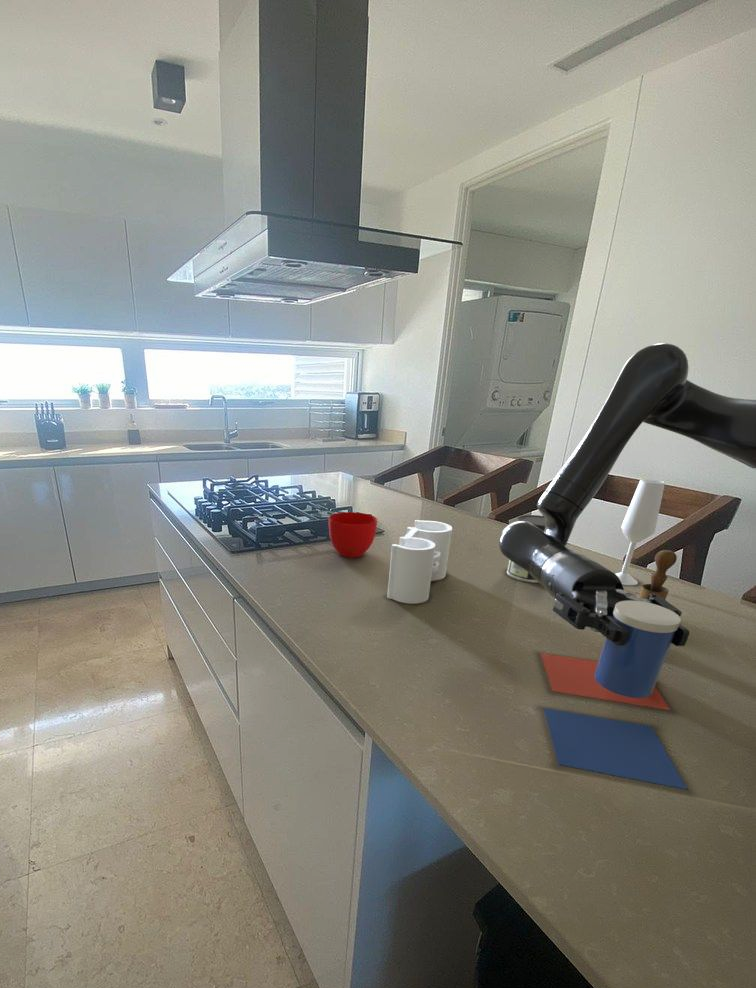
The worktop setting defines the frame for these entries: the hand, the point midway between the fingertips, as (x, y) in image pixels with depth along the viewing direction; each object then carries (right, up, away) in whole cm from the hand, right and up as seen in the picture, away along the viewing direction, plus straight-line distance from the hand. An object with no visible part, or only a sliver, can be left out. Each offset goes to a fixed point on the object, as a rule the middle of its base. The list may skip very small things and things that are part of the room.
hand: (654, 638), depth 56 cm
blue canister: (0, -6, +5) cm, 8 cm away
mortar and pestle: (+21, -4, +34) cm, 40 cm away
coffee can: (+15, +10, +65) cm, 67 cm away
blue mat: (0, -15, +8) cm, 17 cm away
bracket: (-14, +8, +59) cm, 61 cm away
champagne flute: (+37, +9, +63) cm, 74 cm away
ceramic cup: (-27, +18, +79) cm, 86 cm away
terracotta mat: (+7, -9, +22) cm, 25 cm away
